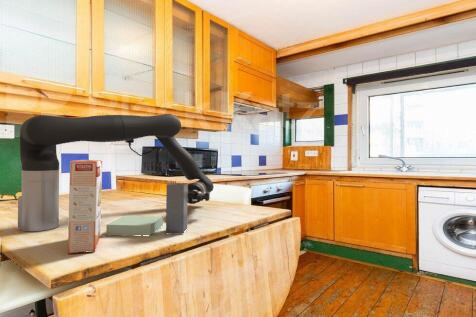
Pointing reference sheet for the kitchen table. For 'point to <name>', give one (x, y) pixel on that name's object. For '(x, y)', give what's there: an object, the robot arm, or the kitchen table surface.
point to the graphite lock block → (176, 207)
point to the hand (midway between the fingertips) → (185, 198)
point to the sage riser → (134, 225)
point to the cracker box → (84, 205)
